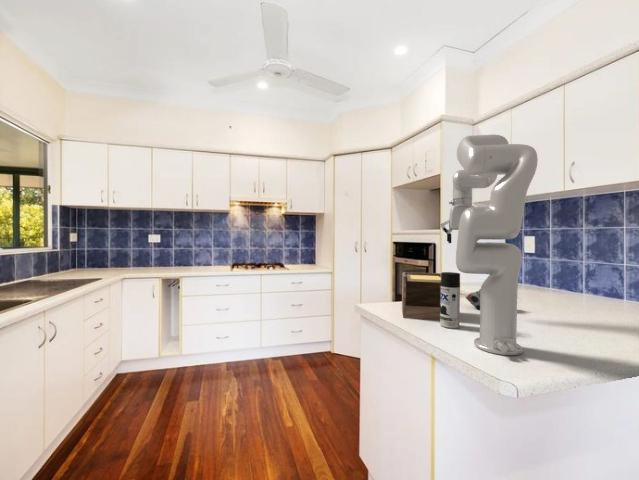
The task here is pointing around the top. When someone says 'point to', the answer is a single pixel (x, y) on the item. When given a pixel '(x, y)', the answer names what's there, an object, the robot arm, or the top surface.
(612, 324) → the top surface
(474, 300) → the lucky cat figurine
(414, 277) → the trapdoor
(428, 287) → the stand
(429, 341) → the top surface
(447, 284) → the spray can
